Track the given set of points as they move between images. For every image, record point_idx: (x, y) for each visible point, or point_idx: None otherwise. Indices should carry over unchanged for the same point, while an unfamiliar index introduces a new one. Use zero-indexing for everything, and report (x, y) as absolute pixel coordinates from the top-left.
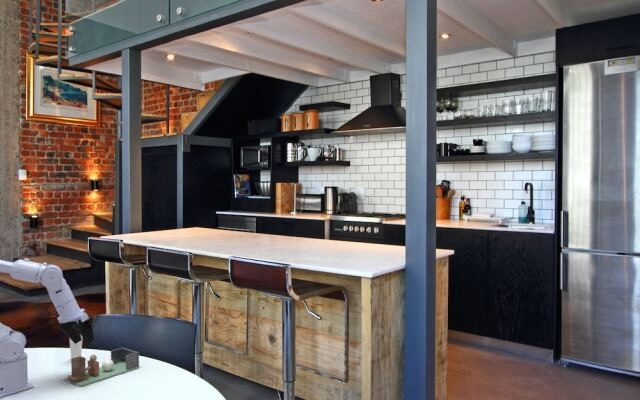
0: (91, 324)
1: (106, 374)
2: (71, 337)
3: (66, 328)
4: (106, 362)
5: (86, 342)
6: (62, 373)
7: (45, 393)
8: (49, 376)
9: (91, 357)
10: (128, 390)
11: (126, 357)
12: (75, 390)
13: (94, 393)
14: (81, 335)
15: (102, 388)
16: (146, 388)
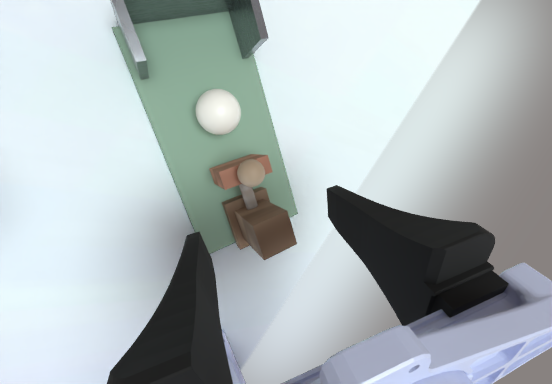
0: (424, 220)
1: (251, 131)
2: (217, 299)
3: (227, 373)
4: (235, 119)
5: (333, 222)
6: (120, 257)
7: (283, 294)
8: (130, 297)
9: (261, 182)
10: (381, 117)
11: (263, 41)
12: (308, 227)
13: (352, 189)
14: (363, 260)
15: (334, 166)
16: (394, 77)
